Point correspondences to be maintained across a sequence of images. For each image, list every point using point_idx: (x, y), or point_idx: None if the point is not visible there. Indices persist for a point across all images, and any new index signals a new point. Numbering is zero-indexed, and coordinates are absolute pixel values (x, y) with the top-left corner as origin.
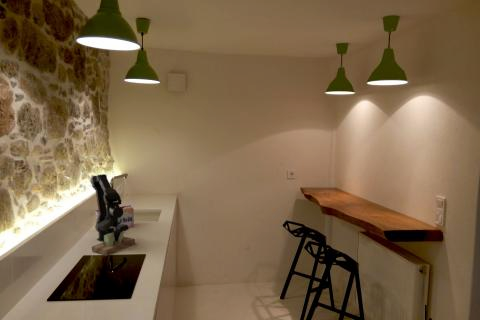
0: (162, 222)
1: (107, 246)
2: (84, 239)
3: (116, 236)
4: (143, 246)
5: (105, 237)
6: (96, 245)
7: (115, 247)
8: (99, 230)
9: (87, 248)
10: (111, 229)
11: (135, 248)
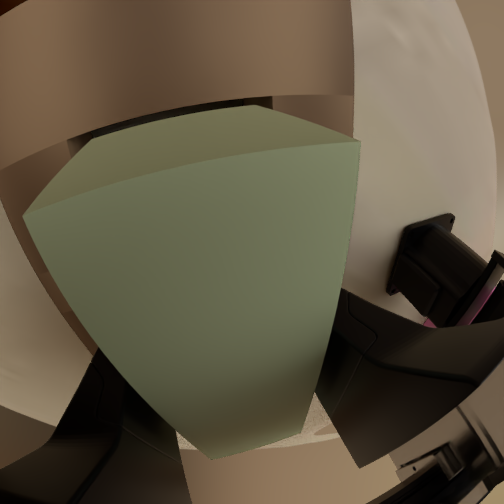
0: (299, 438)
1: (103, 96)
2: (490, 175)
3: (98, 375)
4: (51, 375)
5: (229, 131)
6: (330, 20)
7: (5, 194)
8: (491, 266)
9: (413, 50)
10: (366, 431)
11: (34, 336)
